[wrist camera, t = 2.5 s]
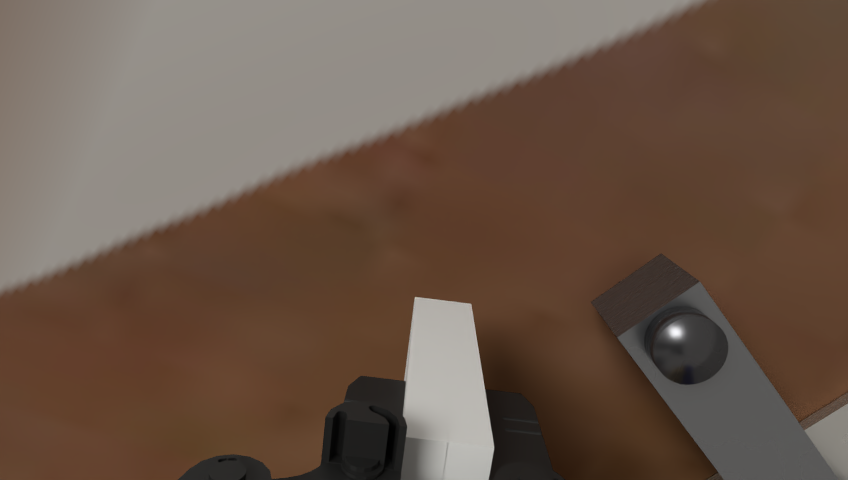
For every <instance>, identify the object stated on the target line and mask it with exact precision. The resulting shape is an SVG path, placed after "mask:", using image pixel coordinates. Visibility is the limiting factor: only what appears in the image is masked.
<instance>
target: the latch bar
mask: <svg viewBox="0 0 848 480" xmlns="http://www.w3.org/2000/svg"><path fill="white" fill-rule="evenodd" d="M591 303H592V304H593V306H594V307H595V308H596V310H597V311H598V312H599V314H600V315H601V316H602V318H603V319H604V320H605V322H606V323H607V325H608V326H609V327H610V329H611V330H612V331H613V333H614V334H615V335H616V337H617V338H618V339H619V341H620V342H621V343H622V345H623V346H624V347H625V349H626V350H627V351H628V353H629V354H630V355H631V357H632V358H633V359H634V361H635V362H636V363H637V365H638V366H639V367H640V369H641V370H642V371H643V373H644V374H645V375H646V377H647V378H648V379H649V381H650V382H651V383H652V385H653V386H654V387H655V389H656V390H657V391H658V393H659V394H660V395H661V397H662V398H663V399H664V401H665V402H666V403H667V405H668V406H669V407H670V409H671V410H672V411H673V413H674V414H675V415H676V417H677V418H678V419H679V420H680V422H681V423H682V424H683V426H684V427H685V428H686V430H687V431H688V432H689V434H690V435H691V436H692V438H693V439H694V440H695V442H696V443H697V444H698V446H699V447H700V448H701V450H702V451H703V452H704V454H705V455H706V456H707V458H708V459H709V460H710V462H711V463H712V464H713V466H714V467H715V468H716V470H717V471H718V472H719V474H720V475H721V476H722V478H723V479H724V480H839V479H838V478H837V476H836V475H835V474H834V472H833V471H832V469H831V468H830V467H829V465H828V464H827V462H826V461H825V459H824V458H823V457H822V455H821V454H820V452H819V451H818V449H817V448H816V447H815V445H814V444H813V442H812V441H811V439H810V438H809V437H808V435H807V434H806V432H805V431H804V429H803V428H802V427H801V425H800V424H799V422H798V421H797V419H796V418H795V417H794V415H793V414H792V412H791V411H790V409H789V408H788V407H787V405H786V404H785V402H784V401H783V399H782V398H781V397H780V395H779V394H778V392H777V391H776V390H775V388H774V387H773V385H772V384H771V382H770V381H769V380H768V378H767V377H766V375H765V374H764V372H763V371H762V370H761V368H760V367H759V365H758V364H757V362H756V361H755V360H754V358H753V357H752V355H751V354H750V352H749V351H748V350H747V348H746V347H745V345H744V344H743V342H742V341H741V340H740V338H739V337H738V335H737V334H736V332H735V331H734V330H733V328H732V327H731V325H730V324H729V322H728V321H727V320H726V318H725V317H724V315H723V314H722V313H721V311H720V310H719V308H718V307H717V305H716V304H715V303H714V301H713V300H712V298H711V297H710V295H709V294H708V293H707V291H706V290H705V288H704V287H703V285H702V284H701V283H700V281H698V280H697V279H696V278H694V277H693V276H691V275H690V274H689V273H687V272H686V271H685V270H683V269H682V268H680V267H679V266H678V265H676V264H675V263H674V262H672V261H671V260H669V259H668V258H667V257H665V256H664V255H663V254H660V255H658V256H657V257H655V258H654V259H652V260H651V261H649V262H648V263H647V264H645V265H644V266H642V267H641V268H639V269H638V270H636V271H635V272H634V273H632V274H631V275H629V276H628V277H626V278H625V279H624V280H622V281H621V282H619V283H618V284H616V285H615V286H613V287H612V288H611V289H609V290H608V291H606V292H605V293H603V294H602V295H600V296H599V297H598V298H596V299H595V300H593V301H592V302H591Z"/></svg>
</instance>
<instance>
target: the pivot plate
mask: <svg viewBox="0 0 848 480" xmlns="http://www.w3.org/2000/svg"><path fill="white" fill-rule="evenodd" d="M799 424H800V425H801V427H802V428H803V429H804V431H805V432H806V434H807V435H808V437H809V438H810V439H811V441H812V442H813V444H814V445H815V447H816V448H817V449H818V451H819V452H820V454H821V455H822V457H823V458H824V459H825V461H826V462H827V464H828V465H829V467H830V468H831V469H832V471H833V472H834V474H835V475H836V476H837V478H838V479H839V480H848V393H846V394H845V395H843V396H841V397H840V398H838V399H837V400H835V401H833V402H832V403H830V404H828V405H827V406H825V407H824V408H822V409H820V410H819V411H817V412H815V413H814V414H812V415H811V416H809V417H807V418H806V419H804V420H802V421H801V422H799ZM707 480H724V479H723V478H722V476H721V475H720V474H719V472H718V473H717V474H715V475H713V476H712V477H710V478H708V479H707Z"/></svg>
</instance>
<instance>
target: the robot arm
mask: <svg viewBox="0 0 848 480" xmlns="http://www.w3.org/2000/svg"><path fill="white" fill-rule="evenodd" d="M541 433H542V432H541V429H540V426H539V424H538V419H537V416H536V413H535V409H534V407H533V406H532V405H531V404H530V403H529V402H528V401H527V399H526V398H525V397H524V396H523V395H522V394H520V393H511V392H503V391H495V390H487V389H485V387H484V380H483V374H482V368H481V362H480V356H479V349H478V343H477V337H476V331H475V325H474V318H473V312H472V306H471V304H467V303H459V302H451V301H443V300H435V299H427V298H419V297H415V301H414V308H413V316H412V324H411V332H410V339H409V347H408V355H407V363H406V370H405V378H404V381H399V380H391V379H383V378H375V377H367V376H360V377H359V378H358V379H356V380H355V381H354V382H353V383H352V384H350V385H349V386H348V389H347V393H346V396H345V400H344V403H343V404H340V405H338V406H336V407H335V408H333V409H331V410H330V412H329V413H328V414H327V416H326V418H325V429H324V439H323V450H322V460H321V465H320V466H319V467H318V468H316V469H314V470H313V471H311V472H308V473H305V474H302V475H300V476H294V477H288V478H279V479H271V474H270V471H269V469H268V468H267V467H266V466H265V465H264V464H263V463H262V462H260V461H258V460H256V459H253V458H251V457H248V456H241V455H223V456H216V457H213V458H210V459H207V460H204V461H201V462H200V463H198V464H197V465H195V466H194V467H192V468H190V469H189V470H188V471H187V472H186V473H185V474H184V475H183V476H181V477H180V478H179V479H178V480H565V479H564V478H563V477H561V476H560V475H559V474H558V473H556V472H554V471H553V469H552V466H551V462H550V459H549V456H548V452H547V449H546V446H545V442H544V439H543V436H542V435H541Z"/></svg>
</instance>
